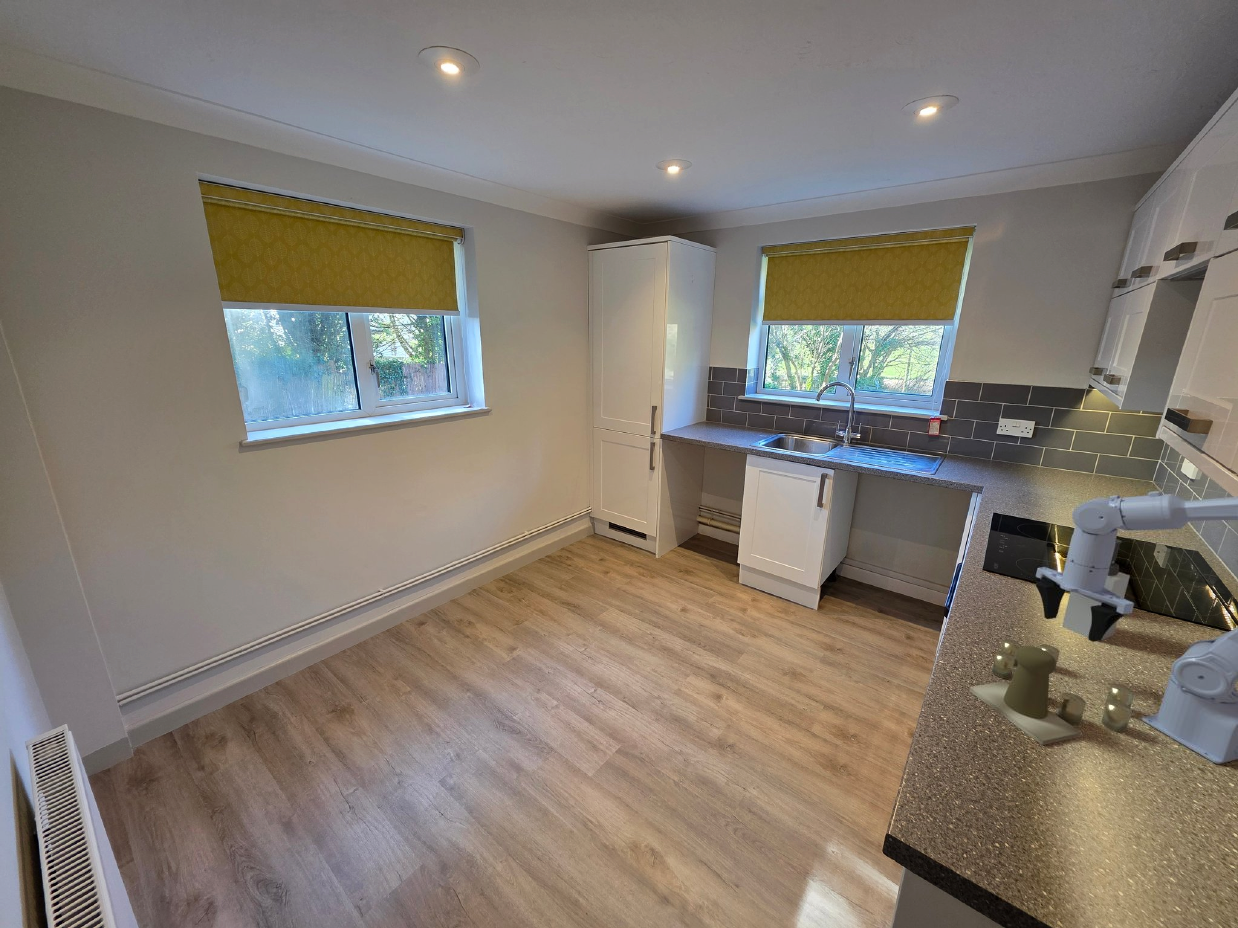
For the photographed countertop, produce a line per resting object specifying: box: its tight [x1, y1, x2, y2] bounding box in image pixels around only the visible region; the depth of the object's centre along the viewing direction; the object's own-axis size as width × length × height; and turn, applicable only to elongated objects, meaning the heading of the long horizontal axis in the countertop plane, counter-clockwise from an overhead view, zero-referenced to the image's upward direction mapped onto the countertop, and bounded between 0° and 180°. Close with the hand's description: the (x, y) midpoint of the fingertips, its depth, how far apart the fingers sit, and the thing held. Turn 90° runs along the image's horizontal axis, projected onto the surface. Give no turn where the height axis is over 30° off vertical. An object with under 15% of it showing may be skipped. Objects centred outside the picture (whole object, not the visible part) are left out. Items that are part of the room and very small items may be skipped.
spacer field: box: [991, 638, 1135, 734], centre depth 90 cm, size 21×14×4 cm
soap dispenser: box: [1061, 538, 1131, 643], centre depth 108 cm, size 6×9×22 cm
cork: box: [1004, 645, 1057, 719], centre depth 84 cm, size 6×6×11 cm
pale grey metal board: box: [968, 680, 1082, 746], centre depth 85 cm, size 13×8×1 cm, turn 13°
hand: (1071, 628), depth 92 cm, fingers open, 7 cm apart
